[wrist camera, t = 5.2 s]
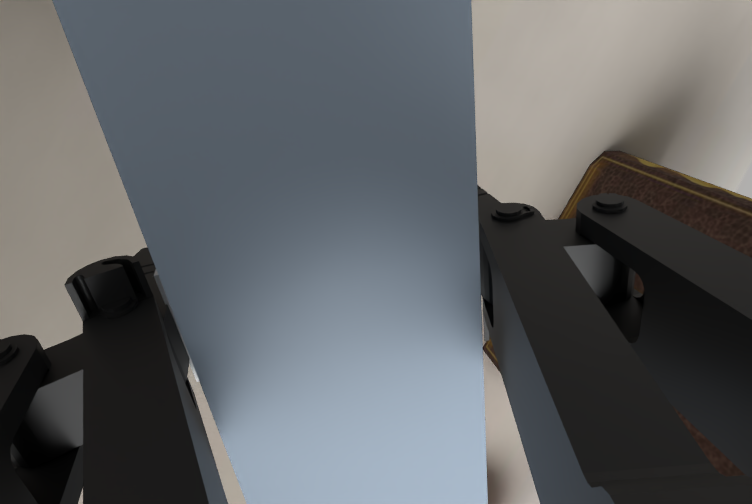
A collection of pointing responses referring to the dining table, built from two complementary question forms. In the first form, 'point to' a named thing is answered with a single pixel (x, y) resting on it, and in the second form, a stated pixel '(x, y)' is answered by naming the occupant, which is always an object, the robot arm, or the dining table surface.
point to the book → (682, 202)
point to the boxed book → (309, 229)
